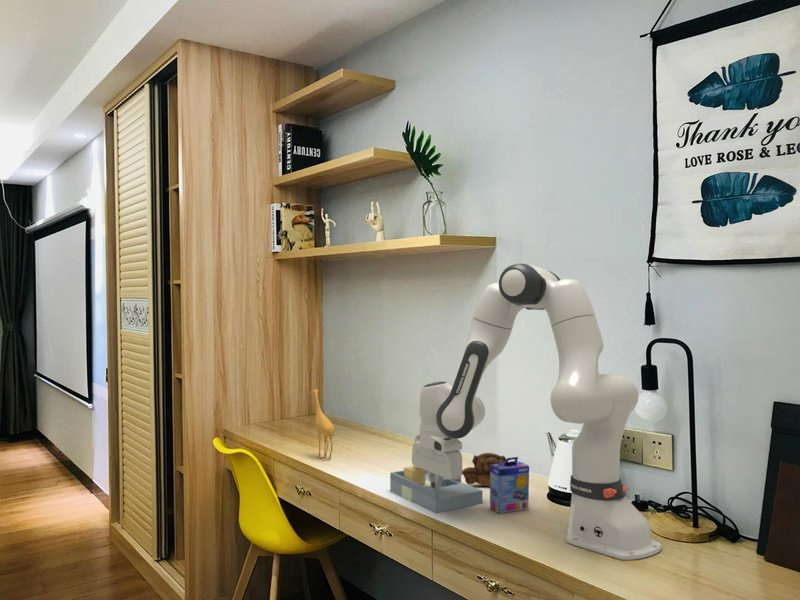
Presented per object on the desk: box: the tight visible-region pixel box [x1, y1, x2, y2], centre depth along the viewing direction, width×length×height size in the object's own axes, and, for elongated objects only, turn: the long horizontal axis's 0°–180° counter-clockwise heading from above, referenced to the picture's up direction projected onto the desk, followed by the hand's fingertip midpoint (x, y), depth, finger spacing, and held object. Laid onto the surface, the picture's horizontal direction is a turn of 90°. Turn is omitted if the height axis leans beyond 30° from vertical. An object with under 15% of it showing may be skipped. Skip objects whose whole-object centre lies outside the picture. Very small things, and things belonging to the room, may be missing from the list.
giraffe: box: [309, 387, 336, 460], centre depth 241 cm, size 16×4×25 cm, turn 35°
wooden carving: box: [462, 452, 507, 487], centre depth 204 cm, size 16×5×10 cm, turn 99°
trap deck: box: [389, 469, 483, 514], centre depth 193 cm, size 24×16×6 cm, turn 32°
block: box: [403, 465, 426, 484], centre depth 194 cm, size 4×4×5 cm
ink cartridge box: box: [489, 456, 530, 514], centre depth 182 cm, size 10×6×14 cm, turn 113°
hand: (435, 488), depth 186 cm, fingers closed
